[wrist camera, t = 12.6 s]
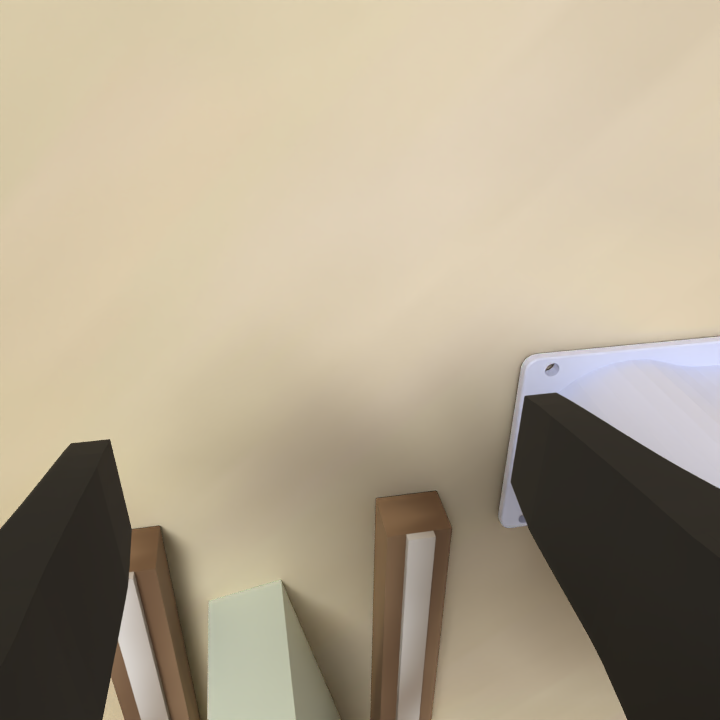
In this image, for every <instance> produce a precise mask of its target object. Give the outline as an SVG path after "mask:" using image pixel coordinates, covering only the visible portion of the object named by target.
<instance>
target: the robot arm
mask: <svg viewBox="0 0 720 720" xmlns="http://www.w3.org/2000/svg"><path fill="white" fill-rule="evenodd" d="M553 363H554V366H553V367H552V368H551V369H549V370H545V369H546V367H547V366H549V365H550V364H553ZM522 514H523V515H522ZM498 519H499V521H500V523H501V524H502V526H503V527H506V528H514V527H521V526H528V528H529V530H530V532H531V534H532V536H533V538H534V540H535V541H536V543H537V545H538V547H539V549H540V550H541V552H542V554H543V556H544V558H545V559H546V561H547V563H548V565H549V567H550V568H551V570H552V572H553V574H554V576H555V577H556V579H557V581H558V583H559V584H560V586H561V588H562V590H563V591H564V593H565V595H566V597H567V598H568V600H569V602H570V604H571V605H572V607H573V609H574V611H575V613H576V614H577V616H578V618H579V620H580V621H581V623H582V625H583V627H584V628H585V630H586V632H587V634H588V635H589V637H590V639H591V641H592V643H593V645H594V647H595V649H596V651H597V653H598V655H599V657H600V659H601V661H602V663H603V665H604V667H605V670H606V672H607V674H608V677H609V679H610V681H611V683H612V686H613V688H614V690H615V692H616V695H617V697H618V699H619V701H620V704H621V706H622V708H623V711H624V713H625V715H626V718H627V720H720V336H719V337H708V338H698V339H687V340H676V341H666V342H655V343H645V344H634V345H624V346H613V347H603V348H592V349H581V350H571V351H560V352H550V353H539V354H534V355H531V356H529V357H528V358H526V359H525V361H524V362H523V363H522V366H521V371H520V377H519V384H518V390H517V396H516V403H515V409H514V416H513V422H512V428H511V435H510V441H509V448H508V454H507V461H506V467H505V473H504V480H503V486H502V493H501V499H500V505H499V512H498ZM131 536H132V529H131V525H130V520H129V516H128V512H127V508H126V504H125V500H124V496H123V491H122V487H121V483H120V479H119V475H118V471H117V466H116V462H115V458H114V454H113V450H112V446H111V441H110V439H109V440H99V441H90V442H80V443H71V444H70V445H69V446H68V447H67V448H66V450H65V451H64V452H63V453H62V454H61V456H60V457H59V458H58V459H57V461H56V462H55V463H54V464H53V466H52V467H51V468H50V469H49V471H48V472H47V473H46V474H45V476H44V477H43V478H42V479H41V481H40V482H39V483H38V484H37V486H36V487H35V488H34V489H33V491H32V492H31V493H30V494H29V495H28V497H27V498H26V499H25V500H24V502H23V503H22V504H21V505H20V506H19V508H18V509H17V510H16V511H15V512H14V514H13V515H12V516H11V517H10V518H9V519H8V521H7V522H6V523H5V524H4V525H3V526H2V528H1V529H0V720H102V719H103V714H104V709H105V704H106V699H107V693H108V688H109V683H110V678H111V673H112V668H113V663H114V658H115V653H116V648H117V643H118V637H119V632H120V627H121V622H122V617H123V611H124V606H125V601H126V595H127V590H128V582H129V568H130V553H131Z"/></svg>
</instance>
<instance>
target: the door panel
mask: <svg viewBox="0 0 720 720" xmlns="http://www.w3.org/2000/svg"><path fill="white" fill-rule="evenodd" d="M207 720H341V718H340V716H339V713H338V711H337V709H336V706H335V704H334V702H333V699H332V697H331V695H330V692H329V690H328V688H327V685H326V683H325V681H324V679H323V676H322V674H321V672H320V669H319V667H318V665H317V662H316V660H315V658H314V655H313V653H312V651H311V648H310V646H309V644H308V641H307V639H306V637H305V634H304V632H303V630H302V627H301V625H300V623H299V620H298V618H297V616H296V613H295V611H294V609H293V606H292V604H291V602H290V599H289V597H288V595H287V592H286V590H285V588H284V585H283V583H282V581H281V579H280V580H277V581H274V582H270V583H267V584H264V585H260V586H257V587H254V588H250V589H247V590H244V591H240V592H237V593H234V594H230V595H227V596H224V597H220V598H217V599H214V600H210V601H209V609H208V704H207Z"/></svg>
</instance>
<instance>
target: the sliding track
mask: <svg viewBox="0 0 720 720" xmlns="http://www.w3.org/2000/svg"><path fill="white" fill-rule="evenodd" d="M451 533H452V527H451V524H450V522H449V520H448V517H447V515H446V512H445V510H444V508H443V505H442V503H441V500H440V498H439V496H438V493H437V491H431V492H423V493H415V494H407V495H399V496H391V497H383V498H376V514H375V554H374V595H373V635H372V676H371V716H370V720H431V718H432V709H433V699H434V690H435V681H436V672H437V662H438V653H439V644H440V635H441V625H442V616H443V607H444V598H445V589H446V579H447V570H448V561H449V552H450V542H451ZM111 678H112V681H113V684H114V687H115V691H116V694H117V697H118V700H119V703H120V706H121V710H122V713H123V716H124V719H125V720H200V716H199V711H198V707H197V702H196V697H195V692H194V687H193V683H192V678H191V673H190V668H189V663H188V659H187V654H186V649H185V644H184V639H183V635H182V630H181V625H180V620H179V616H178V611H177V606H176V601H175V596H174V592H173V587H172V582H171V577H170V572H169V568H168V563H167V558H166V553H165V549H164V544H163V539H162V534H161V529H160V526H155V527H147V528H139V529H132V536H131V553H130V568H129V582H128V590H127V595H126V601H125V606H124V611H123V617H122V622H121V627H120V632H119V637H118V643H117V648H116V653H115V658H114V663H113V668H112V673H111Z"/></svg>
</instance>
